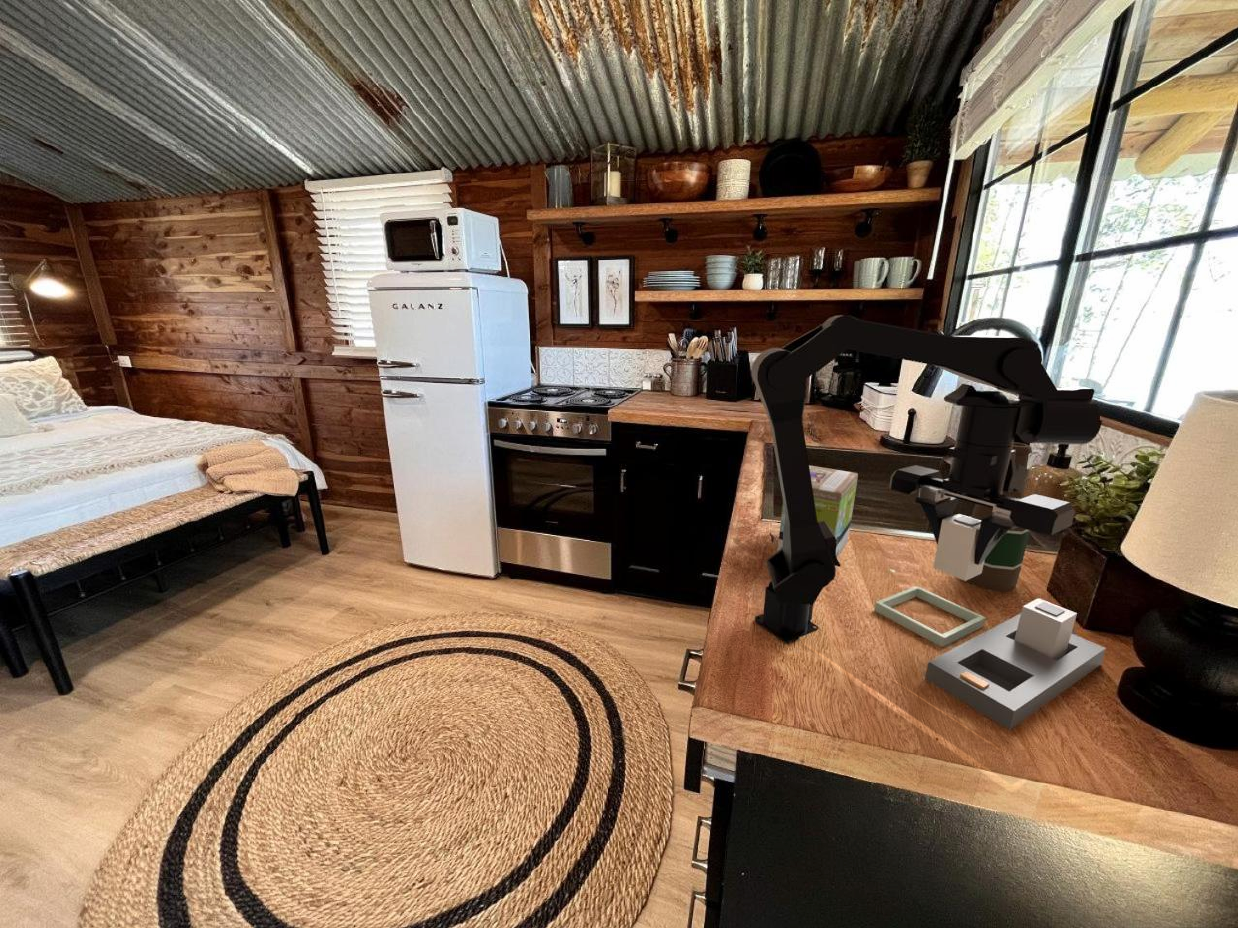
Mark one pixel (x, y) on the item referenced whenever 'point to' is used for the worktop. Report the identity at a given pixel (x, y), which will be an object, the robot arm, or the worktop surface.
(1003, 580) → the beer bottle
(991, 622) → the worktop surface
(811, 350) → the robot arm
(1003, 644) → the strip
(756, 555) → the worktop surface
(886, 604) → the tray
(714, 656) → the worktop surface
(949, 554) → the iec plug
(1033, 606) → the twin plug
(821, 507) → the tea box
